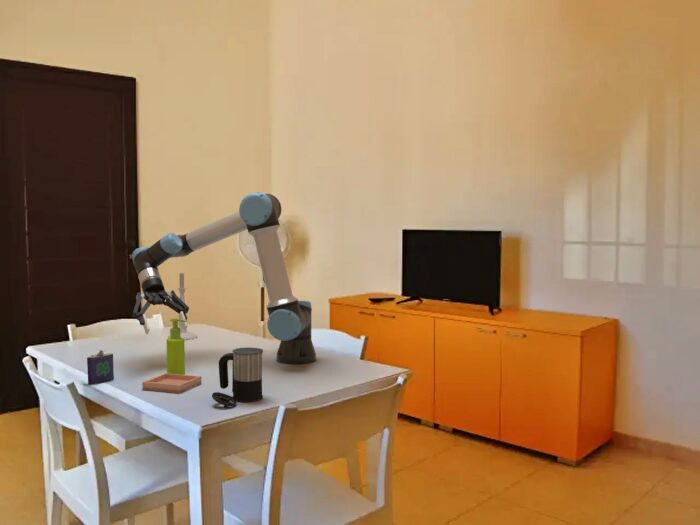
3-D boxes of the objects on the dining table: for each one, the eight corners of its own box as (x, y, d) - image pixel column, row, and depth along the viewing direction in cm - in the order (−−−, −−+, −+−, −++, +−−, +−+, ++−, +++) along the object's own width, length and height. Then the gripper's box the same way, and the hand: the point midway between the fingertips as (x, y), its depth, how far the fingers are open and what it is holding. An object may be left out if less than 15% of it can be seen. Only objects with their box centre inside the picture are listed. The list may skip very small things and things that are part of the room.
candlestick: (167, 336, 299) (166, 271, 297) (196, 334, 303) (195, 270, 301) (168, 341, 287) (167, 273, 285) (198, 339, 290) (197, 273, 288)
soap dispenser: (182, 379, 218) (182, 320, 217) (164, 378, 220) (163, 319, 218) (190, 375, 224) (189, 318, 223) (172, 374, 225) (171, 317, 224)
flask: (111, 378, 219) (110, 347, 219) (116, 379, 218) (115, 348, 217) (86, 384, 212) (85, 351, 211) (91, 385, 210) (90, 352, 209)
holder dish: (201, 383, 212) (201, 376, 212) (179, 393, 200) (179, 385, 200) (165, 380, 217) (165, 373, 216) (142, 389, 205) (142, 382, 204)
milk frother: (265, 394, 200) (264, 346, 199) (259, 409, 184) (259, 357, 183) (218, 394, 200) (218, 347, 199) (209, 409, 184) (208, 357, 183)
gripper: (181, 287, 247) (197, 332, 236) (114, 292, 232) (128, 339, 221) (186, 275, 242) (203, 320, 231) (119, 278, 227) (133, 326, 216)
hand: (167, 329), depth 226 cm, fingers open, 13 cm apart
